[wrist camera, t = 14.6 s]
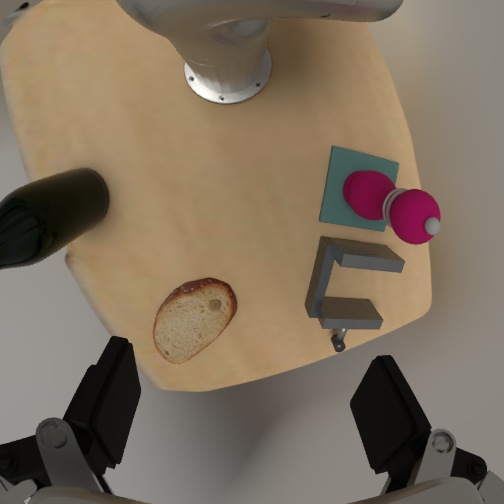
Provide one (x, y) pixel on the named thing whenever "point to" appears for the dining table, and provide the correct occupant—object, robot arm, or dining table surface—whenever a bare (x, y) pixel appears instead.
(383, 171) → the mat
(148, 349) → the dining table surface
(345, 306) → the grey c-clamp
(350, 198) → the pepper mill
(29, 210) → the dark green wine bottle
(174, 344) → the bread slice
